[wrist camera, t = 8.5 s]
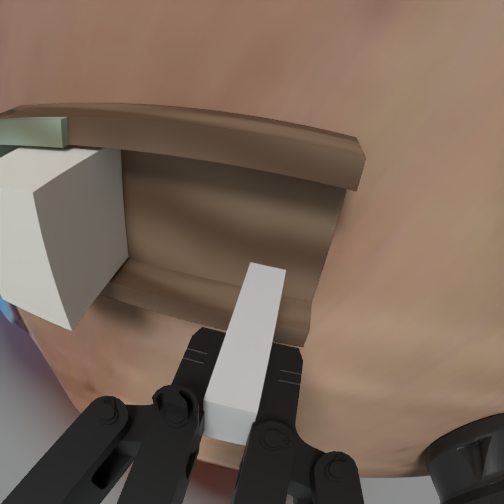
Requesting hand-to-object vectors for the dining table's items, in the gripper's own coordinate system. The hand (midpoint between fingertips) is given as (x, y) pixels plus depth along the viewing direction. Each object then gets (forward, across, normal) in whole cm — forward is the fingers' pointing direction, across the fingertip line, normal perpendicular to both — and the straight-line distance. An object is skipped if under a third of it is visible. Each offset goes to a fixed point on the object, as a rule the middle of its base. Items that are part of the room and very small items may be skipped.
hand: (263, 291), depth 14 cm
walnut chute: (+6, +8, 0) cm, 10 cm away
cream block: (+4, +12, 0) cm, 13 cm away
